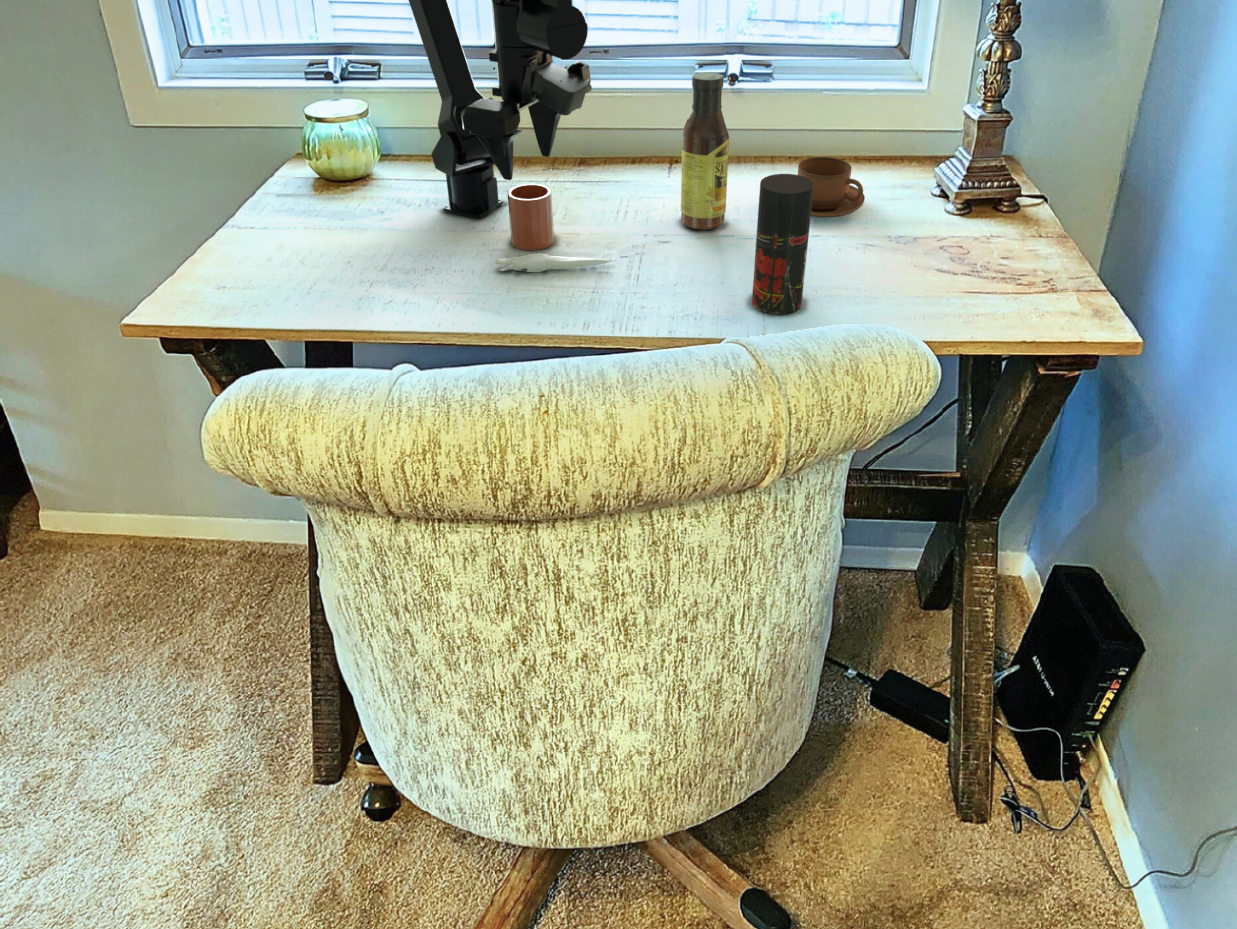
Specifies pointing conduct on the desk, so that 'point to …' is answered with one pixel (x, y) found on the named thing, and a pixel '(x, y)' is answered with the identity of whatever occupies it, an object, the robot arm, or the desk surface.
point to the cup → (531, 216)
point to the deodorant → (781, 243)
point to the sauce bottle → (705, 156)
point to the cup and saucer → (831, 187)
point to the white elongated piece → (546, 262)
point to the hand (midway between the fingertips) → (527, 167)
